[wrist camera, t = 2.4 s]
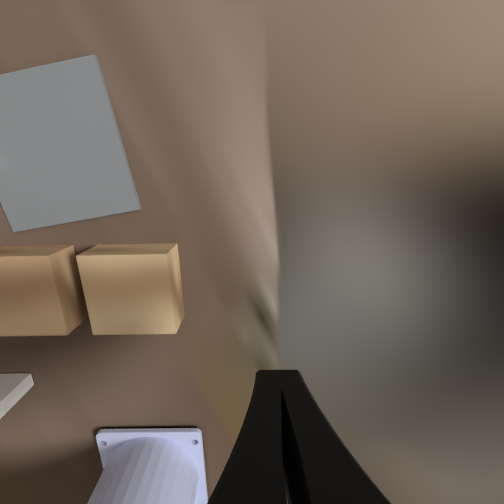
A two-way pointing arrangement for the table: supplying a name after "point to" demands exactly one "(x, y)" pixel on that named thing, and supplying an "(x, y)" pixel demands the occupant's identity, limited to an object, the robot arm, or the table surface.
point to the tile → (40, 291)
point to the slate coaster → (61, 147)
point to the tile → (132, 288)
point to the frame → (13, 389)
